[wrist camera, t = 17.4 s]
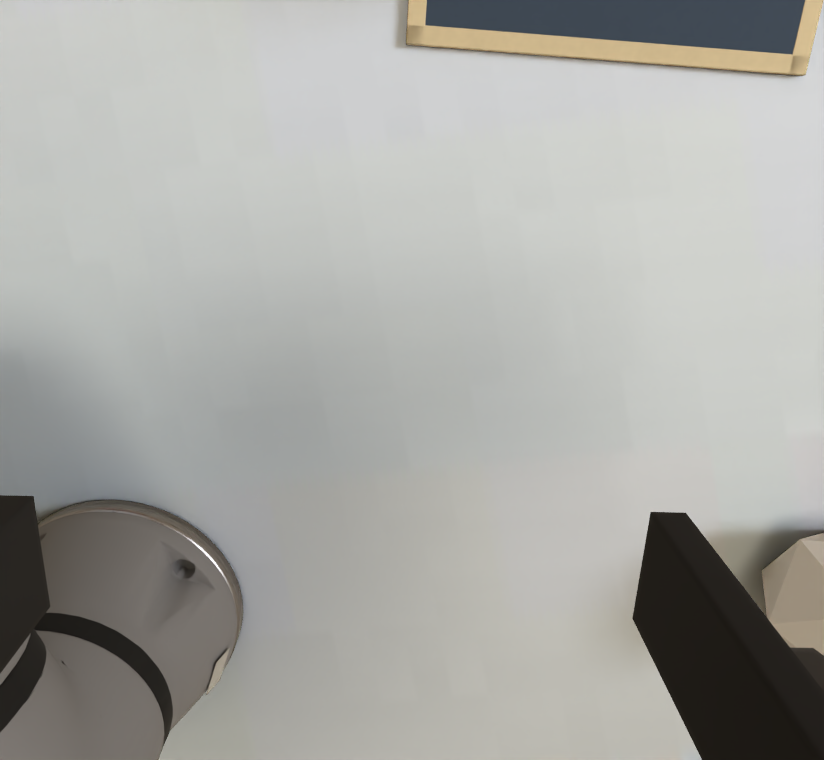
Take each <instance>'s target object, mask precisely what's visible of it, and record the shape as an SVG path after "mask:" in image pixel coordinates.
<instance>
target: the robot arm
mask: <svg viewBox="0 0 824 760" xmlns="http://www.w3.org/2000/svg"><path fill="white" fill-rule="evenodd" d="M242 620H243V602H242V596H241V591H240V587H239V584H238V581H237V579H236V576H235V574H234V572H233V570H232V568H231V566H230V564H229V563H228V561H227V560H226V558H225V557H224V555H223V554H222V553H221V552H220V550H219V549H218V548H217V547H216V546H215V545H214V544H213V543H212V542H211V541H210V540H209V539H208V538H207V537H206V536H205V535H204V534H203V533H201V532H200V531H199V530H198V529H196V528H195V527H193V526H192V525H191V524H189V523H188V522H186V521H184V520H182V519H181V518H179V517H177V516H175V515H173V514H171V513H169V512H166V511H164V510H161V509H158V508H156V507H152V506H149V505H145V504H141V503H136V502H130V501H121V500H99V501H90V502H84V503H80V504H76V505H72V506H69V507H67V508H64V509H61V510H59V511H57V512H55V513H53V514H51V515H50V516H48V517H47V518H45V519H44V520H42V521H41V522H40V523H37V516H36V510H35V503H34V496H0V760H158V759H159V756H160V754H161V751H162V748H163V746H164V744H165V741H166V739H167V737H168V734H169V732H170V730H171V729H172V728H173V727H174V726H175V725H176V724H177V723H178V722H179V721H180V719H181V718H182V717H183V716H184V715H185V714H186V713H187V712H188V711H189V710H190V709H191V708H192V706H193V705H194V704H195V703H196V702H197V701H198V700H199V699H200V698H201V696H202V695H203V694H204V693H205V692H206V691H207V690H208V691H207V694H208V693H209V692H210V691H211V689H212V688H213V687H214V686H215V685H216V684H217V683H218V681H219V680H220V678H221V674H222V671H223V670H224V668H225V666H226V665H227V663H228V661H229V660H230V658H231V655H232V653H233V651H234V648H235V645H236V642H237V640H238V637H239V634H240V630H241V626H242ZM633 620H634V622H635V624H636V626H637V628H638V630H639V632H640V634H641V637H642V639H643V641H644V643H645V645H646V647H647V649H648V651H649V653H650V655H651V657H652V659H653V661H654V663H655V665H656V667H657V669H658V671H659V673H660V675H661V677H662V679H663V681H664V683H665V685H666V687H667V689H668V691H669V693H670V695H671V697H672V699H673V702H674V704H675V706H676V708H677V710H678V712H679V714H680V716H681V718H682V720H683V722H684V724H685V726H686V728H687V730H688V732H689V734H690V736H691V738H692V740H693V742H694V744H695V746H696V748H697V750H698V752H699V754H700V756H701V758H702V760H824V655H822V654H821V653H820V652H818V651H817V650H815V649H814V648H792V647H789V646H788V644H787V643H786V642H785V640H784V639H783V638H782V636H781V635H780V634H779V633H778V631H777V630H776V629H775V627H774V626H773V625H772V624H771V622H770V621H769V620H768V618H767V617H766V616H765V615H764V613H763V612H762V611H761V609H760V608H759V607H758V606H757V604H756V603H755V602H754V600H753V599H752V598H751V596H750V595H749V594H748V593H747V591H746V590H745V589H744V587H743V586H742V585H741V584H740V582H739V581H738V580H737V578H736V577H735V576H734V575H733V573H732V572H731V571H730V569H729V568H728V567H727V565H726V564H725V563H724V562H723V560H722V559H721V558H720V556H719V555H718V554H717V553H716V551H715V550H714V549H713V547H712V546H711V545H710V544H709V542H708V541H707V540H706V538H705V537H704V536H703V535H702V533H701V532H700V531H699V529H698V528H697V527H696V525H695V524H694V523H693V522H692V520H691V519H690V518H689V516H688V515H687V514H686V513H669V512H651V514H650V520H649V526H648V531H647V537H646V543H645V549H644V555H643V561H642V567H641V572H640V578H639V584H638V590H637V596H636V602H635V607H634V613H633ZM207 694H206V695H207Z"/></svg>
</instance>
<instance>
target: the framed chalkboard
mask: <svg viewBox="0 0 824 760" xmlns="http://www.w3.org/2000/svg"><path fill="white" fill-rule="evenodd" d="M822 4H823V0H409V2H408V18H407V34H406V45H416V46H429V47H441V48H454V49H467V50H479V51H492V52H505V53H517V54H530V55H543V56H555V57H568V58H581V59H594V60H606V61H619V62H632V63H644V64H657V65H670V66H682V67H695V68H708V69H720V70H733V71H746V72H758V73H771V74H784V75H796V76H803V75H805V74H806V70H807V66H808V62H809V58H810V54H811V50H812V45H813V41H814V37H815V33H816V29H817V25H818V20H819V16H820V12H821V8H822Z"/></svg>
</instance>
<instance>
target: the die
mask: <svg viewBox="0 0 824 760" xmlns="http://www.w3.org/2000/svg"><path fill="white" fill-rule="evenodd" d="M762 579H763V587H764V596H765V604H766V612H767V618H768V620H769V621H770V622H771V624H772V625H773V626H774V627H775V629H776V630H777V631H778V633H779V634H780V635H781V636H782V638H783V639H784V640H785V642H786V643H787V644H788V646H789V647H792V648H814V649H815V650H817V651H818V652H820V653H821V654H822V655H824V533H821V534H818V535H814V536H810V537H806V538H803V539H800V540H798V541H797V542H796V543H795V544H794V545H792V546H791V547H790V548H789V549H787V550H786V551H785V552H784V553H783V554H781V555H780V556H779V557H778V558H777V559H775V560H774V561H773V562H772V563H771V564H769V565H768V566H767V567H766V568H765V569H763V570H762Z"/></svg>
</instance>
